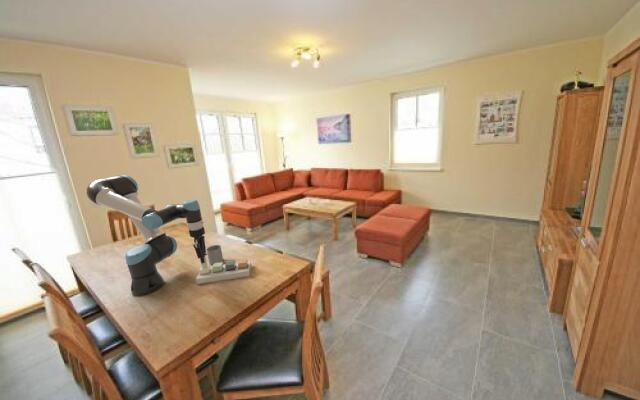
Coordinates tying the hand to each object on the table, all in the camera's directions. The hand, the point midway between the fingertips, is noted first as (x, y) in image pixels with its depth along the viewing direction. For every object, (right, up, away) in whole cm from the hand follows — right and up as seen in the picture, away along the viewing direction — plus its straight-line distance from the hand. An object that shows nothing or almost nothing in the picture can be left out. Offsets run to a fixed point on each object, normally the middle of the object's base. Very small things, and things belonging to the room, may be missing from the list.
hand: (204, 266), depth 142 cm
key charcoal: (+14, -2, +3) cm, 14 cm away
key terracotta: (+21, -1, +4) cm, 21 cm away
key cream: (0, -4, +1) cm, 4 cm away
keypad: (+11, -5, +3) cm, 12 cm away
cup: (-1, -2, +19) cm, 19 cm away
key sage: (+7, -3, +2) cm, 8 cm away
